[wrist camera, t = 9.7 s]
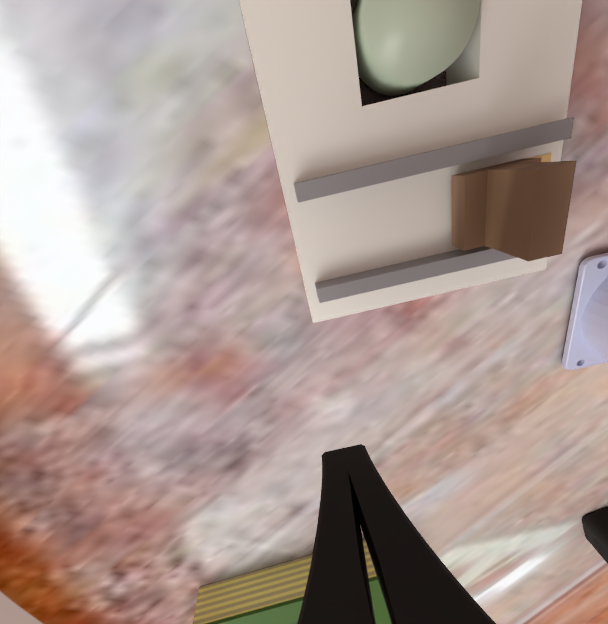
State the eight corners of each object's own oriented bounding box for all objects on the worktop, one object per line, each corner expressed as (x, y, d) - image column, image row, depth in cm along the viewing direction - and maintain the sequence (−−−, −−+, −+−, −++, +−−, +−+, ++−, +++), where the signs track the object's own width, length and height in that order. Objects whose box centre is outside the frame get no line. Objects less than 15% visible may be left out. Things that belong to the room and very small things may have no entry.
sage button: (444, -43, 12) (483, -92, 9) (446, 83, 13) (478, 66, 11) (342, -17, 12) (357, -60, 9) (356, 105, 13) (371, 92, 11)
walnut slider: (522, 158, 13) (604, 154, 9) (516, 230, 14) (587, 247, 11) (451, 175, 13) (509, 176, 9) (451, 245, 14) (503, 267, 11)
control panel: (574, -524, 8) (755, -946, 5) (511, 256, 18) (560, 274, 14) (145, -406, 8) (69, -741, 5) (308, 303, 18) (315, 331, 15)
